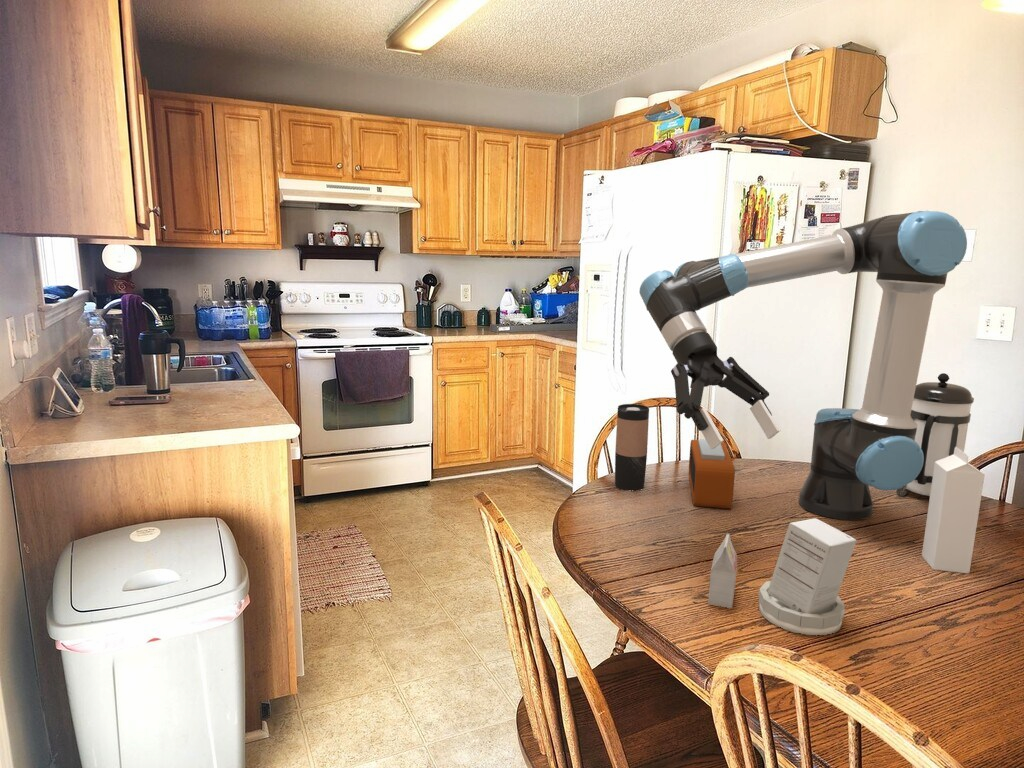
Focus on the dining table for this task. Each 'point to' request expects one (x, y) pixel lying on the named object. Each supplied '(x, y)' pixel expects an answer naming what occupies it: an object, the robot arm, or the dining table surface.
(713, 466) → the alarm clock
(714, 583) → the white juice carton
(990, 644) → the dining table surface
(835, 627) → the white faceted bowl
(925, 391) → the coffee press
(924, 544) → the milk
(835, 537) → the supplement box
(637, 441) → the travel mug
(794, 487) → the dining table surface
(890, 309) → the robot arm
